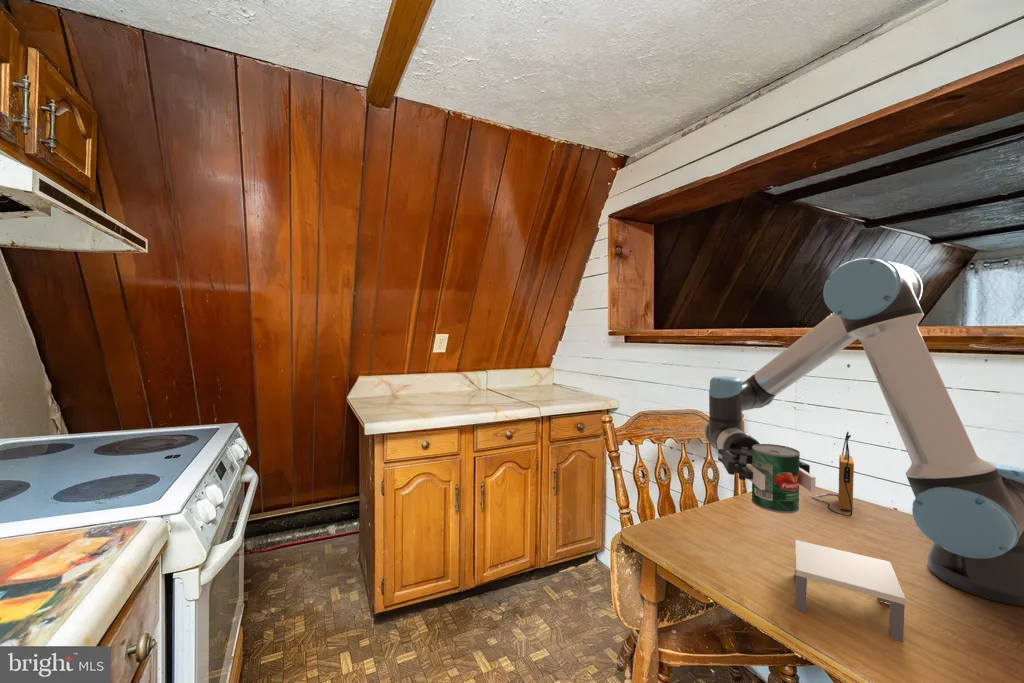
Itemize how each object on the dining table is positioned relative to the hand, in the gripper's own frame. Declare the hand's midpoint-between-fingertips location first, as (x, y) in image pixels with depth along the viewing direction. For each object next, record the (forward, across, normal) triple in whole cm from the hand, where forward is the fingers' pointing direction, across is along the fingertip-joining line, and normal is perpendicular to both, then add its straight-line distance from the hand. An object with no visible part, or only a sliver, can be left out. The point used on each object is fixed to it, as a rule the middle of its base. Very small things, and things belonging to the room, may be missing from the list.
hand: (787, 483), depth 77 cm
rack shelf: (+2, -8, -20) cm, 22 cm away
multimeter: (-43, -31, -20) cm, 57 cm away
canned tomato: (-5, 0, -6) cm, 8 cm away
